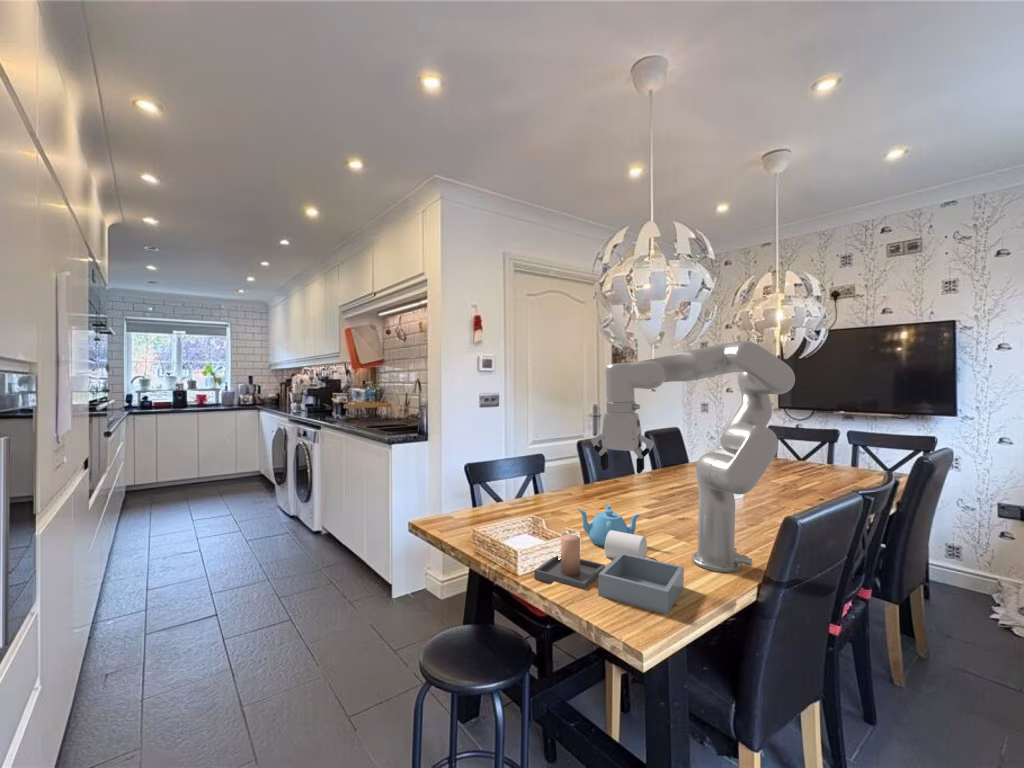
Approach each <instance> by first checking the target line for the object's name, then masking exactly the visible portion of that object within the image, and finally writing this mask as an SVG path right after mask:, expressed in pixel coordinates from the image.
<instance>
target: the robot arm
mask: <svg viewBox="0 0 1024 768" xmlns="http://www.w3.org/2000/svg"><path fill="white" fill-rule="evenodd" d="M732 373H738V375H737V384H738V387H739V390H740V395H741V403H740V406H739V408H738V409H737V411H736V413H735V414H734V415H733V417H732V419H731V420H730V421H729V423H728V425H727V426H726V427H725V429H723V432H722V434H721V436H720V442H719V443H720V446H721V448H722V449H723V450H724V451H725V452H727V453H729V455H728V454H726V453H725V454H724V453H721V452H715V451H714V452H713V451H712V452H706V453H704V454H703V455H701V457H699V459H698V460H697V463H696V466H695V473H696V474H695V475H696V480H697V487H698V488H697V489H698V519H697V520H698V522H697V523H698V527H697V528H698V529H697V531H698V533H697V552H694V553H693V554H692V555H691V560H692V563H694V564H695V565H697V566H699V568H703V569H705V570H709V571H713V572H719V573H720V572H721V573H732V572H733V573H734V572H737V571H739V570H740V569H741V565H742V564H743V565H745V566H750V567H752V566H753V558H750V557H749V556H748V555H745V554H739V552H737V551H738V550H737V548H736V547H735V537H736V536H735V533H736V530H735V529H736V498H735V495H745V494H748V493H749V492H750V491H752V490H753V489H754V488H755V487H756V485H757V484H758V483H759V481H760V480H761V478H762V477H763V475H764V474H765V473H766V470H767V469H768V467H769V466H770V464H771V463H772V461H773V460H774V458H775V456H776V454H777V452H778V447H779V446H778V445H779V442H778V437H777V435H776V433H775V432H774V431H773V430H772V429H770V428H769V427H768V426H767V425H769V422H770V421H771V419H772V415H773V405H772V402H771V397H770V395H783V394H786V393H787V392H789V391H790V390H792V388H793V387H794V386H795V382H796V377H795V373H794V370H793V369H792V368H791V367H790V366H789V365H788V364H787V363H786V362H785V361H783V360H781V359H780V358H779V357H777V356H776V355H774V354H773V353H771V352H770V351H769V350H767V349H765V348H764V347H763V346H760V345H759V344H757V343H755V342H753V341H748V340H744V341H734V342H726V343H721V344H716V345H710V346H705V347H702V348H696V349H690V350H686V351H681V352H676V353H674V354H670V355H665V356H659V357H654V358H650V359H645V360H640V361H639V360H638V361H634V362H631V363H628V362H621V363H620V362H619V363H617V362H616V363H615V362H614V363H610V364H609V363H608V364H607V365H606V366H605V373H604V374H605V400H606V408H605V409H606V412H605V413H604V415H603V420H602V429H601V434H599V435H597V436H594V437H593V438H591V439H590V442H591V445H592V446H593V448H594V450H595V451H596V452H597V453H598V455H599V456H600V467H601V470H602V471H607V470H608V469H609V468H610V467H609V466H610V465H609V454H608V452H609V451H610V450H611V451H614V450H615V451H624V452H625V451H627V452H633V453H634V454H635V455H636V456H637V458H636V459H635V462H636V473H637V474H641V473H642V472H643V471H644V470H645V457H646V456H647V455H648V454H649V453H650V452H651V450H652V448H653V447H654V445H655V442H654V440H651V439H649V438H647V437H646V436H644V435H642V427H641V421H640V415H639V413H637V410H640V409H641V404H637V403H636V401H635V389H643V390H653V389H657V388H659V387H661V386H662V384H664V383H671V382H692V381H697V380H703V379H707V378H710V377H717V376H721V375H726V374H732ZM790 392H791V391H790ZM600 440H601V445H602V446H601V445H600V444H599V441H600ZM643 443H644V444H645V445H646V446H645V449H642V446H643ZM730 454H731V455H730ZM732 455H734V456H732Z"/></svg>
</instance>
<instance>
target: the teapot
mask: <svg viewBox="0 0 1024 768" xmlns="http://www.w3.org/2000/svg"><path fill="white" fill-rule="evenodd" d="M605 507H606V508H605V510H604V511H601V512H598V513H597V514H595V516H594V517H593V519H592V520H591V522H590V523H589V522H588V516H587V513H586V511H585V510H582V509H580V508H578V509H577V511H579V512H580V513H581V517H582V528H583V530H584V531H585V533H587V536H588V538H589V539H590V541H591V542H592V543H593V544H594V543H595V545H596V546H599V547H603V548H605V541H606V537H607V534H608V532H609V531H610V530H613V531H618V532H623V533H628V534H633V535H635V531H636V523H637V519H638V518H639V517H640V516H641V515H642V513H636V514H633V516H632V518H631V520H630V521H631V522H630V523H631V524H630V525H629V526H628V525H627V523H626V521H625V520H624V518H623V517H622V516H621V514H618V513H616V512H614V510H612V509H611V504H610V503H606V505H605Z"/></svg>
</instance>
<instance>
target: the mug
mask: <svg viewBox="0 0 1024 768" xmlns="http://www.w3.org/2000/svg"><path fill="white" fill-rule="evenodd" d="M646 538H647V537H646V536H643V535H637V534H628V533H623V532H618V531H613V530H610V531H609V532H608V534H607V537H606V541H605V547H604V555H605V557H606V558H607V559H613V560H614V559H615V558H616V557H617V556H618V555H619V554H620V553H624V554H629V555H633V556H638V557H642V558H647V552H648V541H647V539H646Z"/></svg>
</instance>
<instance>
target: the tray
mask: <svg viewBox="0 0 1024 768" xmlns="http://www.w3.org/2000/svg"><path fill="white" fill-rule="evenodd" d="M605 567H606V564H604V563H599V562H596V561H592V560H587V559H584V558H580V574H579V575H576V576H567V575H564V574H562V573H561V559H560V560H558V556H556V557H554V556H553V557H551V558H550V559H548V560H547V561H545V562H544V563H543V564H541V565H540V566H538V567H537V568H536V569H534V570H533V571H534V572H533V577H534V578H533V579H534V580H537V581H542V582H545V583H548V584H553V583H554V582H557V583H561V584H565V585H568V586H572V587H575V588H579V589H582V590H585V589H586V588H587V587H589V586H590V584H592V583H593V581H594V580H596V579H597V578H599V573H600V572H601V571H602V570H603V569H604V568H605Z"/></svg>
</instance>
